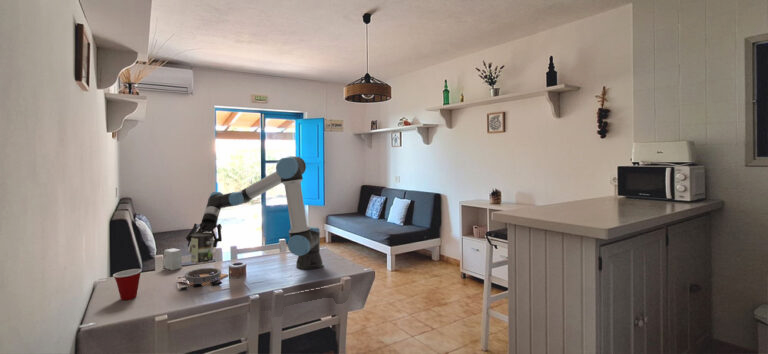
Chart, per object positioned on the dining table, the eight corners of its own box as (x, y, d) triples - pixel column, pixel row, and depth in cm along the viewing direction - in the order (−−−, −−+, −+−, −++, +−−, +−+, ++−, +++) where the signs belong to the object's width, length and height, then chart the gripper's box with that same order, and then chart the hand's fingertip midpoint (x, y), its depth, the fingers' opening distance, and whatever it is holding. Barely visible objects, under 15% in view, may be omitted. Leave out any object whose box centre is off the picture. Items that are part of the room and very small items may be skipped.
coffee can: (216, 258, 203) (216, 232, 202) (207, 264, 192) (207, 236, 192) (197, 258, 203) (197, 231, 202) (187, 263, 192) (186, 236, 192)
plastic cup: (122, 293, 176) (121, 268, 175) (147, 293, 177) (146, 268, 176) (107, 302, 165) (106, 275, 164) (133, 302, 166) (133, 275, 165)
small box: (182, 268, 216) (181, 249, 216) (172, 270, 212) (171, 251, 211) (174, 265, 221) (173, 247, 220) (164, 268, 216) (164, 249, 215)
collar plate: (228, 276, 204) (228, 269, 203) (204, 286, 187) (204, 279, 187) (202, 272, 209) (202, 266, 208) (176, 282, 192) (176, 275, 192)
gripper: (233, 220, 213) (224, 256, 198) (191, 220, 211) (179, 256, 196) (230, 212, 207) (221, 248, 193) (187, 212, 205) (174, 248, 190)
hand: (200, 252), depth 194 cm, fingers closed on coffee can, 10 cm apart
